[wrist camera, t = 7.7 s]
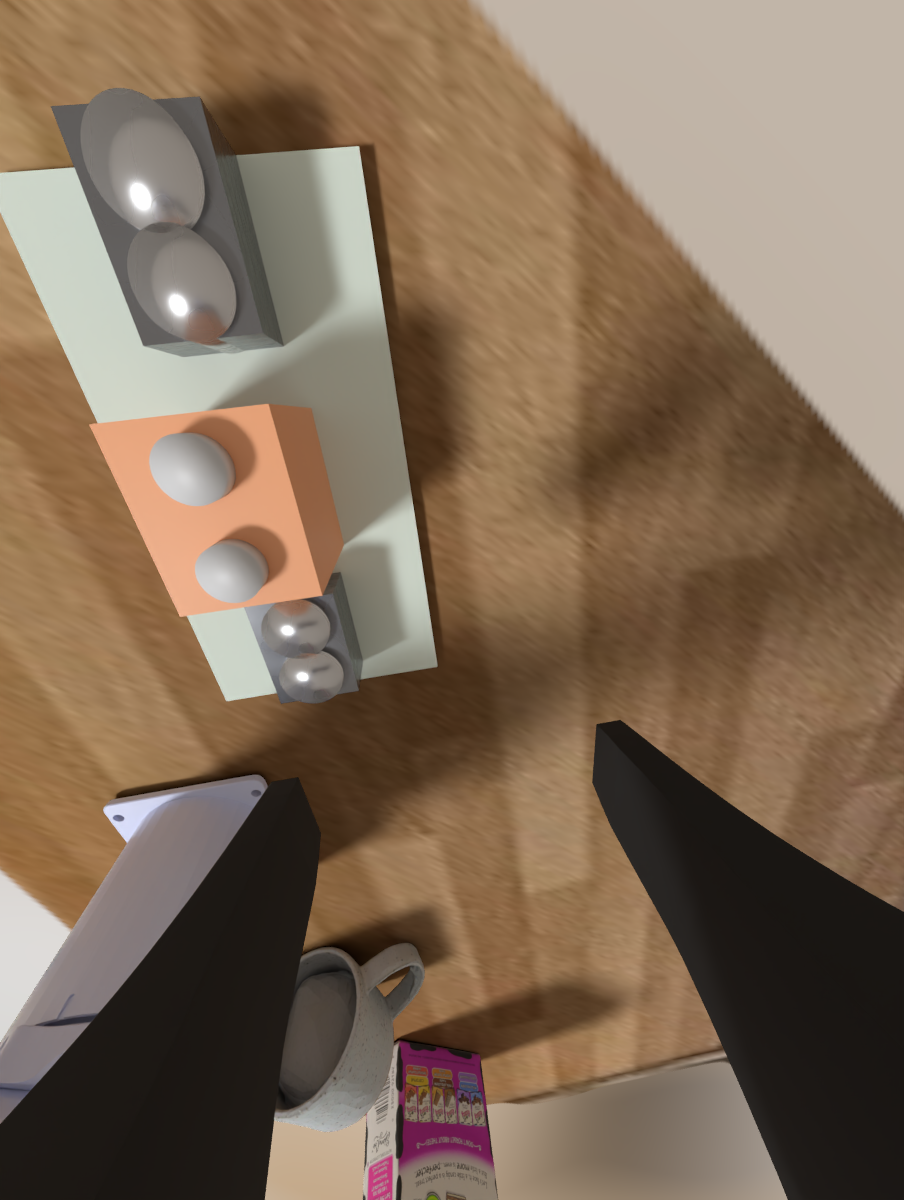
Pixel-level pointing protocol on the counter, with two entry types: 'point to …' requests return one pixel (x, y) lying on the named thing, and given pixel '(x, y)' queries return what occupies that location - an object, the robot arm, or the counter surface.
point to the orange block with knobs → (229, 503)
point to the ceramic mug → (341, 1035)
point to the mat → (261, 377)
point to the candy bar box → (430, 1129)
